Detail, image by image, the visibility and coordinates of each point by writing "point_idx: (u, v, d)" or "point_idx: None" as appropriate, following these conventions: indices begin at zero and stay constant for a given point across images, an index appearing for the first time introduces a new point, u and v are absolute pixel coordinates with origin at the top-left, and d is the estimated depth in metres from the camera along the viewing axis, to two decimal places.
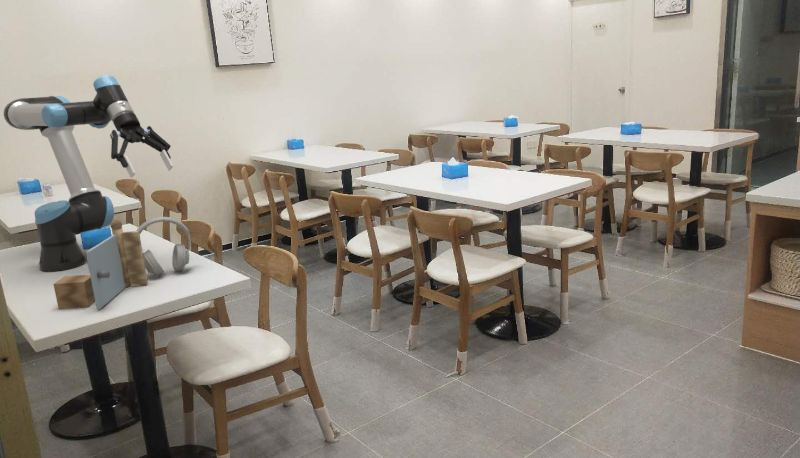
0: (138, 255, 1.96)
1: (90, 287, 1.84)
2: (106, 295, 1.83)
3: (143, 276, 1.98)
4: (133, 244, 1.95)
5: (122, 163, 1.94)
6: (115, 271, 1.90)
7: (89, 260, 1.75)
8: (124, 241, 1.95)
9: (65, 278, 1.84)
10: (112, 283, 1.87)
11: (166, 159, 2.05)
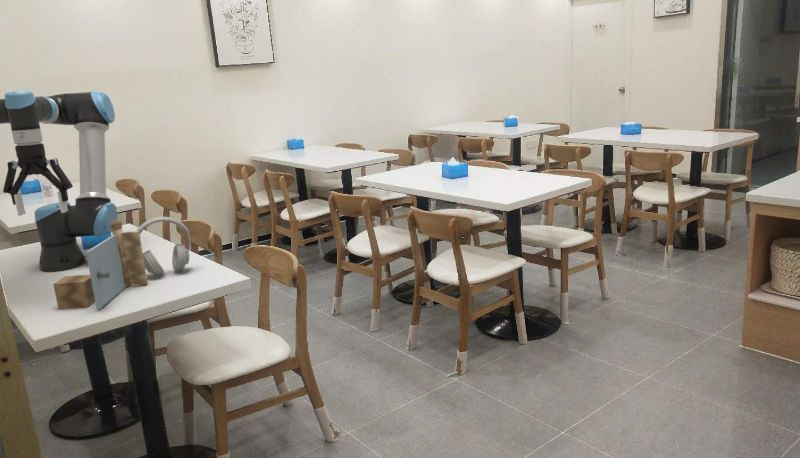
0: (138, 255, 1.96)
1: (90, 287, 1.84)
2: (106, 295, 1.83)
3: (143, 276, 1.98)
4: (133, 244, 1.95)
5: None
6: (115, 271, 1.90)
7: (89, 260, 1.75)
8: (124, 241, 1.95)
9: (65, 278, 1.84)
10: (112, 283, 1.87)
11: None
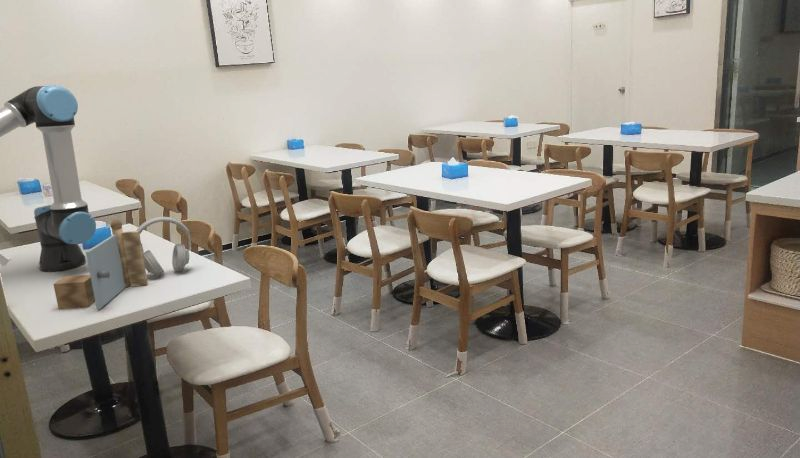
0: (138, 255, 1.96)
1: (90, 287, 1.84)
2: (106, 295, 1.83)
3: (143, 276, 1.98)
4: (133, 244, 1.95)
5: None
6: (115, 271, 1.90)
7: (89, 260, 1.75)
8: (124, 241, 1.95)
9: (65, 278, 1.84)
10: (112, 283, 1.87)
11: None
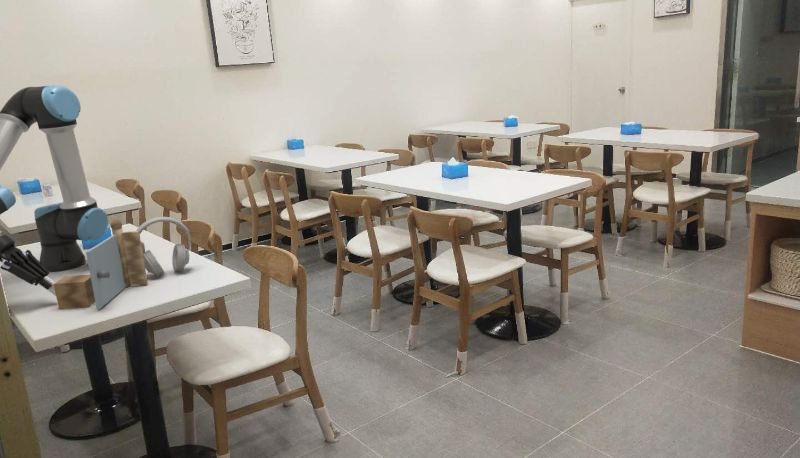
0: (138, 255, 1.96)
1: (90, 287, 1.84)
2: (106, 295, 1.83)
3: (143, 276, 1.98)
4: (133, 244, 1.95)
5: None
6: (115, 271, 1.90)
7: (89, 260, 1.75)
8: (124, 241, 1.95)
9: (65, 278, 1.84)
10: (112, 283, 1.87)
11: None
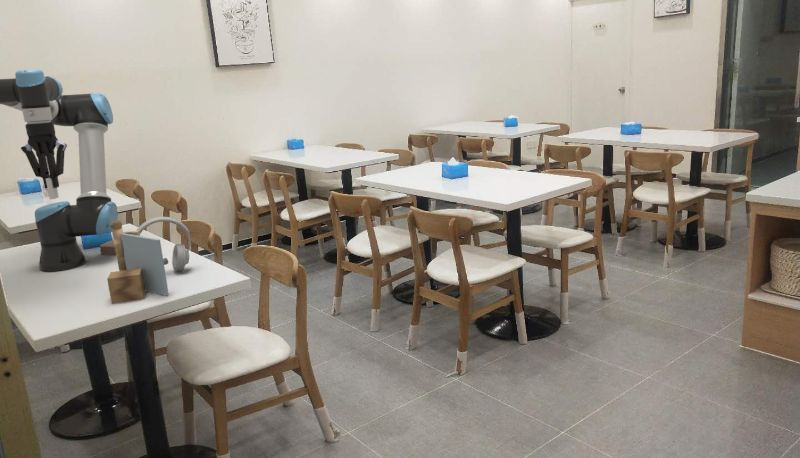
0: None
1: (142, 280, 1.88)
2: None
3: None
4: None
5: None
6: None
7: (160, 248, 1.84)
8: None
9: (114, 273, 1.86)
10: None
11: None
